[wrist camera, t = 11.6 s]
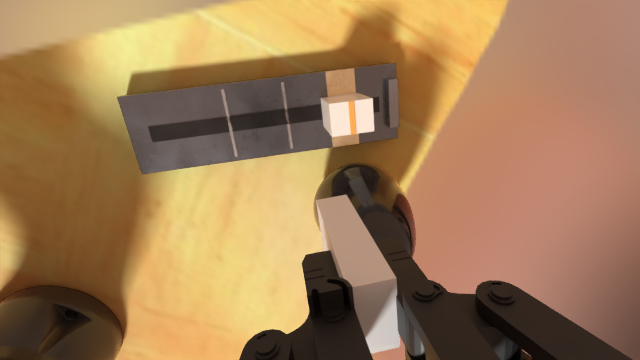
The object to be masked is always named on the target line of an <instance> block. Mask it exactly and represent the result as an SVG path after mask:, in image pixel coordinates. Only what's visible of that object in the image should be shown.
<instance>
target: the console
mask: <svg viewBox="0 0 640 360" xmlns="http://www.w3.org/2000/svg"><path fill="white" fill-rule="evenodd" d="M353 93H359V94H362V95H365V96H368V97H371V98H373V113H374V131H372V132H365V133H358V134H353V135H344V136H337V137H332V136H331V135H330V134H329V133H328V131H327V130H326V129H325V127H324V126H323V117H322V108H321V98H322V97H330V96H338V95H346V94H353ZM117 99H118V102H119V105H120V108H121V111H122V114H123V117H124V120H125V123H126V126H127V129H128V132H129V135H130V138H131V142H132V145H133V148H134V151H135V154H136V157H137V160H138V163H139V166H140V169H141V172H142V174H148V173H155V172H162V171H169V170H176V169H183V168H190V167H197V166H204V165H211V164H218V163H225V162H232V161H239V160H246V159H253V158H260V157H267V156H274V155H281V154H288V153H295V152H302V151H309V150H316V149H323V148H330V147H339V146H346V145H353V144H359V143H365V142H372V141H379V140H386V139H393V138H398V127H399V107H398V79H397V78H396V63H386V64H377V65H369V66H361V67H353V68H344V69H336V70H328V71H320V72H312V73H303V74H295V75H287V76H279V77H270V78H262V79H254V80H246V81H238V82H229V83H221V84H213V85H205V86H196V87H188V88H180V89H172V90H164V91H155V92H147V93H139V94H131V95H124V96H119V97H117Z"/></svg>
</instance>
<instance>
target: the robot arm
mask: <svg viewBox="0 0 640 360" xmlns="http://www.w3.org/2000/svg"><path fill="white" fill-rule="evenodd" d="M316 204H317V210H318V217H319V224H320V231H321V238H322V245H323V250H324V251H323V252H318V253H313V254H308V255H306V256H305V258H304V260H303V262H302V266H303V272H304V278H305V284H306V290H307V298H308V304H309V315H308V318H307V320H306V321H305V323H304V324H303V325H301V326H300V327H299V328H298V329H296V330H294V331H293V332H291V333H289V334H285V333H284V332H282V331H280V330H273V329H271V330H266V331H262V332H260V333H258V334H256V335H254V336H253V337H252V338H251V339H250V340H249V341H248V342H247V343H246V345H245V347H244V349H243V351H242V354H241V356H240V359H239V360H373V358H372V356H371V354H372V353H376V352H380V351H384V350H389V349H393V348H398V347H400V337H401V339H402V340H403V343H404V345H405V354H406V360H632V359H631V358H629V357H628V356H626V355H624V354H623V353H621V352H620V351H618V350H616V349H615V348H613V347H611V346H610V345H608V344H607V343H605V342H604V341H602V340H601V339H599V338H597V337H596V336H594V335H592V334H591V333H589V332H588V331H586V330H585V329H583V328H581V327H580V326H578V325H577V324H575V323H573V322H572V321H570V320H569V319H567V318H566V317H564V316H562V315H561V314H559V313H558V312H556V311H554V310H553V309H551V308H549V307H548V306H546V305H545V304H543V303H542V302H540V301H538V300H537V299H535V298H534V297H532V296H531V295H529V294H527V293H526V292H524V291H523V290H521V289H519V288H518V287H516V286H514V285H512V284H510V283H506V282H502V281H486V282H482V283H481V284H480V285H478V286H477V289H476V294H457V293H450V292H447V290H446V289H445V288H443V286H441V285H440V284H438V283H436V282H434V281H431V280H428V279H427V277H426V276H425V275H424V273H423V272H422V271H421V269H420V268H419V267H418V265H417V264H416V263H415V261H414V260H413V259H412V258H411V256H410V255H409V253H408V252H407V251H406V249H405V248H404V247H403V245H402V244H401V243H400V242H398V241H397V240H395V239H393V238H392V237H389V238H384V239H379V240H373V238H372V237H371V235H370V233H369V232H368V230H367V228H366V227H365V225H364V223H363V222H362V220H361V218H360V217H359V215H358V213H357V212H356V210H355V208H354V207H353V205H352V203H351V202H350V200H349V198H348V197H347V195H341V196H336V197H330V198H325V199H319V200H316ZM399 335H400V336H399ZM121 345H122V331H121V327H120V324H119V322H118V320H117V319H116V317H115V316H114V314H113V313H112V312H111V311H110V310H109V309H108V308H107V307H106V306H105V305H104V304H102V303H101V302H100V301H98V300H97V299H95V298H93V297H91V296H89V295H87V294H85V293H82V292H80V291H77V290H73V289H69V288H64V287H55V286H41V287H33V288H28V289H24V290H21V291H18V292H16V293H14V294H12V295H10V296H8V297H7V298H5V299H4V300H3V301H1V302H0V360H115V358H116V356H117V355H118V353H119V351H120V348H121ZM522 349H523V350H524V351H525V352H527V353H528V354H529V355H531V356H529V355H528V354H526V353H525V352H524V351H522Z"/></svg>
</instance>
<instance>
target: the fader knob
mask: <svg viewBox="0 0 640 360" xmlns="http://www.w3.org/2000/svg"><path fill="white" fill-rule="evenodd" d="M321 108H322V117H323V126H324V127H325V129H326V130H327V131H328V133H329V134H330V135H331V136H332V137H337V136H344V135H353V134H358V133H365V132H372V131H374V113H373V98H371V97H368V96H365V95H362V94H359V93H353V94H346V95H338V96H330V97H322V98H321Z"/></svg>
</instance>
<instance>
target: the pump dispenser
mask: <svg viewBox="0 0 640 360" xmlns="http://www.w3.org/2000/svg"><path fill="white" fill-rule="evenodd" d="M341 195H347V197H348V198H349V200H350V202H351V203H352V205H353V207H354V208H355V210H356V212H357V213H358V215H359V217H360V218H361V220H362V222H363V223H364V225H365V227H366V228H367V230H368V232H369V233H370V235H371V237H372V238H373V240H379V239H384V238H389V237H392V238H393V239H395V240H397V241H398V242H400V243H401V244H402V245H403V247H404V248H405V249H406V251H407V252H408V253H409V255H410V256H411V258H413V256H414V252H415V246H416V231H415V230H416V229H415V222H414V217H413V213H412V210H411V207H410V204H409V202H408V200H407V197H406V196H405V194H404V192H403V190H402V188H401V187H400V185H399V184H398V182H397V181H396V180H395V179H394V177H393V176H392V175H391V174H390V173H388V172H387V171H386V170H384V169H383V168H381V167H379V166H377V165H374V164H370V163H352V164H348V165H345V166H343V167H340V168H338V169H337V170H335V171H333V172H332V173H331V174H330V175H328V176H327V177H326V178H325V180H324V181H323V182H322V183H321V185H320V186H319V188H318V190H317V193H316V195H315V199H314V216H315V220H316V223H317V226H318V228H319V230H320V224H319V217H318V210H317V204H316V200H319V199H325V198H330V197H336V196H341ZM320 232H321V231H320Z"/></svg>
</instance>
